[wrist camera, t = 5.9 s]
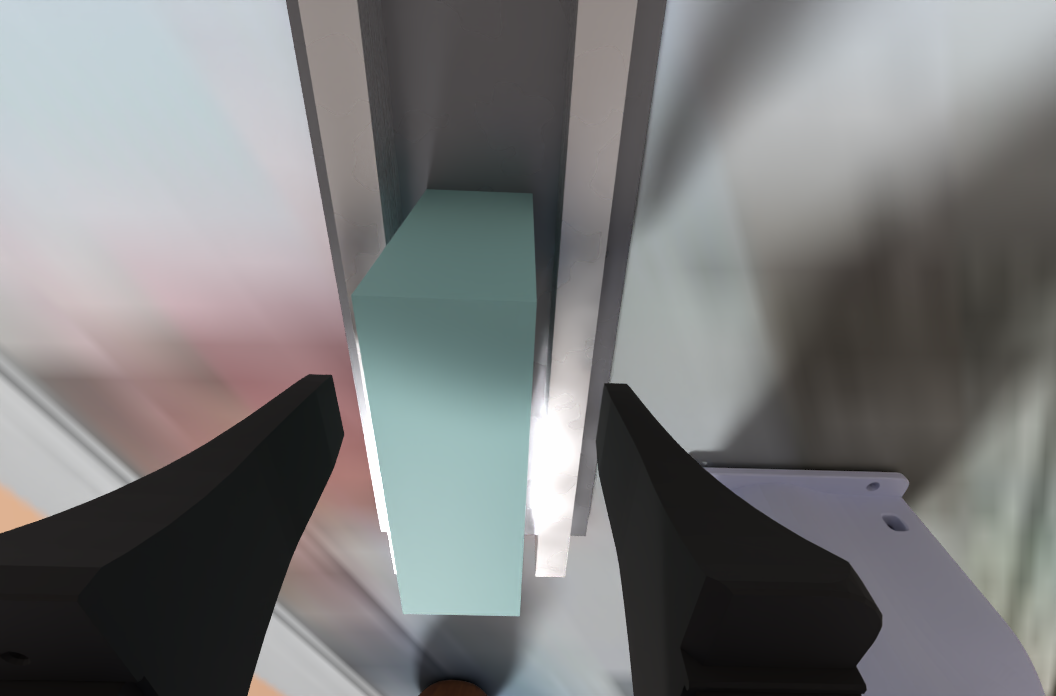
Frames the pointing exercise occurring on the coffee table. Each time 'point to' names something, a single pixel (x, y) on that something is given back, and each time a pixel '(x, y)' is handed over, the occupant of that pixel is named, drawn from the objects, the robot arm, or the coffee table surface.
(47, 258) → the coffee table surface
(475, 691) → the wooden figurine
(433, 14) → the track
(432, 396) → the door panel
